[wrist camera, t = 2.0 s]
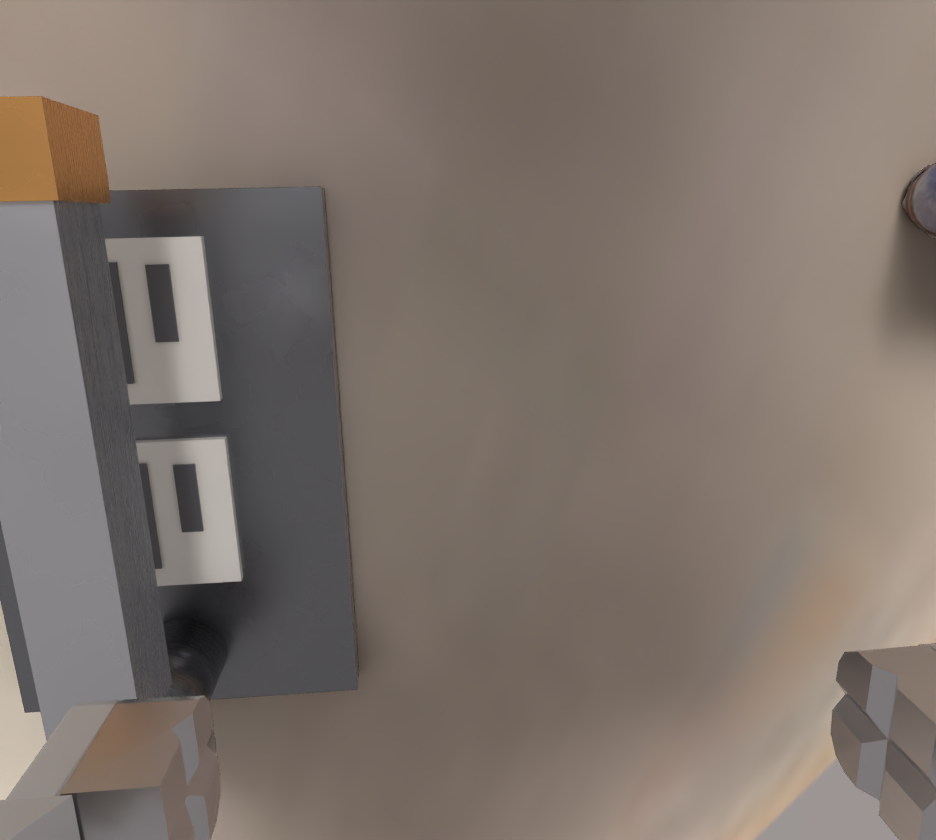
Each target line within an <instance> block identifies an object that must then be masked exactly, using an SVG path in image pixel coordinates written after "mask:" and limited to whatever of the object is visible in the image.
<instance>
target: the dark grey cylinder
mask: <svg viewBox="0 0 936 840" xmlns="http://www.w3.org/2000/svg"><path fill="white" fill-rule="evenodd" d="M163 625H164V632H165V638H166V645H167V652H168V658H169V665H170V671H171V678H172V683H171V685H170V687H169V688H171V689H173V690H175V691H177V692H179V693H181V694H183V695H184V696H205V697H206V698H207V699H208V700H209V702H210V699H211V697H212V695H213V692H214V690H215V687H216V685H217V682H218V680H219V677H220V675H221V673H222V670H223V668H224V665H225V662H226V657H227V653H226V646H225V644H224V641H223V639H222V638H221V636H220V635H219V634H218V633H217V632H216V631H215V630H214V629H213V628H212V627H210V626H209V625H207V624H205V623H203V622H200V621H197V620H192V619H178V620H173V621H170V622H167V623H165V624H163Z"/></svg>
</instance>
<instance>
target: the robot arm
mask: <svg viewBox="0 0 936 840" xmlns="http://www.w3.org/2000/svg"><path fill="white" fill-rule="evenodd" d="M836 681H837V682H838V684H839V685H840V687H841V688H842V690H843V691H844V693H845V695H844V697H843V698H842V699H841V700H840V702H839V703H838V704H837V705H836V706H835V708H834V709H833V710H832V722H831V736H832V741H833V745H834V749H835V754H836V757H837V759H838V761H839V763H840V765H841V767H842V769H843V770H844V772H845V774H846V775H847V776H848V777H849V779H850V780H851V781H852V783H853V784H854V785H855V786H856V787H857V788H859V789H861V790H862V791H864V792H866V793H868V794H869V795H871V796H873V797H875V798H877V799H878V800H879V816H880V817H881V818H882V819H883V821H884V822H885V823H886V824H887V826H888V827H889V828H890V830H891V831H892V832H893V833H894V834H895V836H896V837H897V838H898V839H899V840H936V643H931V644H922V645H918V646H909V647H897V648H886V649H874V650H863V651H851V652H844V654H843V656H842V658H841V659H840V661H839V663H838V670H837V677H836ZM213 727H214V723H213V717H212V711H211V705H210V702H209V700H208V699H207V698H206V697H205V696H186V697H166V698H145V699H125V700H122V701H121V700H107V701H94V702H81V703H79V704H77V705H75V706H72V707H71V709H70V710H69V711H68V712H67V714H66V715H65V717H64V718H63V719H62V721H61V722H60V724H59V725H58V727H57V728H56V729H55V731H54V732H53V734H52V735H51V736H50V738H49V739H48V741H47V742H46V743H45V745H44V746H43V748H42V749H41V750H40V752H39V753H38V755H37V756H36V757H35V759H34V760H33V762H32V763H31V765H30V766H29V767H28V769H27V770H26V772H25V773H24V774H23V776H22V777H21V779H20V780H19V781H18V783H17V784H16V786H15V787H14V788H13V790H12V791H11V793H10V794H9V795H8V797H7V798H6V800H0V840H211V838H212V834H213V831H214V828H215V824H216V821H217V814H218V807H219V800H220V770H219V761H218V756H217V755H216V754H215V753H214V752H213V751H212V750H211V749H210V748H208V747H207V746H206V745H207V743H208V740H209V737H210V735H211V732H212V729H213Z"/></svg>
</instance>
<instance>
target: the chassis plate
mask: <svg viewBox="0 0 936 840" xmlns="http://www.w3.org/2000/svg"><path fill="white" fill-rule="evenodd" d="M109 192H110V199H111V203H102V204H100V210H101V217H102V223H103V230H104V236H105V239H110V238H151V237H192V236H204V244H205V253H206V261H207V270H208V279H209V287H210V296H211V304H212V313H213V322H214V330H215V339H216V347H217V356H218V365H219V373H220V382H221V390H222V400H221V401H207V402H182V403H157V404H133V405H130V408H131V414H132V421H133V428H134V434H135V441H136V440H159V439H181V438H204V437H227V442H228V451H229V459H230V468H231V476H232V485H233V494H234V502H235V511H236V519H237V528H238V537H239V545H240V554H241V562H242V571H243V579H242V581H237V582H220V583H202V584H185V585H168V586H158V592H159V599H160V605H161V612H162V619H163V624H165V623H167V622H170V621H173V620H178V619H192V620H197V621H200V622H203V623H205V624H207V625H209V626H210V627H212V628H213V629H214V630H215V631H216V632H217V633H218V634H219V635H220V636H221V638H222V639H223V641H224V644H225V646H226V653H227V657H226V662H225V665H224V668H223V670H222V673H221V675H220V677H219V680H218V682H217V685H216V687H215V690H214V692H213V695H212V697H211V699H210V700H213V699H227V698H242V697H256V696H271V695H285V694H299V693H314V692H328V691H342V690H357V688H358V678H359V666H358V653H357V639H356V625H355V611H354V597H353V583H352V569H351V555H350V541H349V527H348V513H347V500H346V486H345V472H344V458H343V444H342V430H341V416H340V402H339V388H338V374H337V361H336V347H335V333H334V319H333V305H332V291H331V277H330V263H329V249H328V235H327V221H326V208H325V194H324V188H323V187H273V188H222V189H171V190H121V191H109ZM0 601H1V605H2V610H3V614H4V619H5V624H6V628H7V633H8V637H9V642H10V647H11V651H12V656H13V660H14V665H15V670H16V674H17V679H18V683H19V688H20V693H21V697H22V702H23V706H24V711H25V713H26V712H41V711H40V707H39V702H38V697H37V692H36V688H35V683H34V678H33V673H32V669H31V664H30V659H29V654H28V650H27V645H26V640H25V635H24V631H23V626H22V621H21V616H20V612H19V607H18V602H17V597H16V593H15V588H14V583H13V578H12V574H11V569H10V564H9V559H8V555H7V550H6V545H5V540H4V536H3V531H2V526H1V521H0Z"/></svg>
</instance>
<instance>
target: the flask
mask: <svg viewBox="0 0 936 840" xmlns="http://www.w3.org/2000/svg"><path fill="white" fill-rule="evenodd" d="M924 170H925V171H924ZM923 171H924V172H923ZM922 172H923V173H922ZM921 173H922V174H921ZM920 174H921V175H920ZM918 175H920V176H919V177H918V178H917V176H918ZM916 178H917V179H916ZM915 179H916V180H915ZM914 180H915V181H914ZM913 181H914V182H913ZM902 205H903V207H904V209H905V210H906V212H907V214H908V215H909V217H910V219H911V220H912V221H913V222H914V223H915V224H916V225H917V227H918V228H920V229H922V230H924V231H925V233H927V234H928V235H929V236H930V237H933V238H934V239H936V163H935V164H932V165H928V166H927V167H925V168H924V169H923V170H921V171H919V172H918V173H917V175H916V176H915V177H914V178H913V179H912V181H911V184H910V186H909V187H908V192H907V194H906V198H904V201H903V202H902Z"/></svg>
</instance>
